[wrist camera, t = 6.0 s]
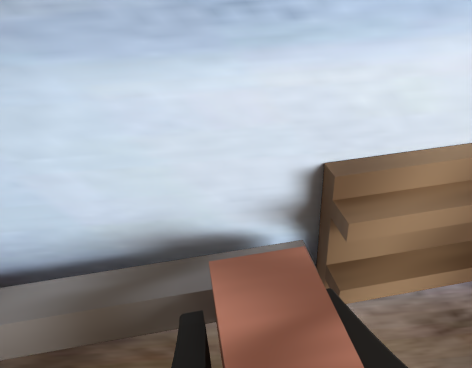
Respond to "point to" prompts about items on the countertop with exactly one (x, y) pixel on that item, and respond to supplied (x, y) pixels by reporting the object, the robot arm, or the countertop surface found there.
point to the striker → (189, 308)
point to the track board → (396, 223)
